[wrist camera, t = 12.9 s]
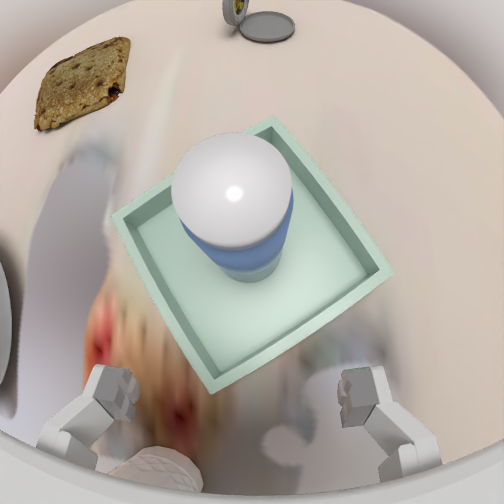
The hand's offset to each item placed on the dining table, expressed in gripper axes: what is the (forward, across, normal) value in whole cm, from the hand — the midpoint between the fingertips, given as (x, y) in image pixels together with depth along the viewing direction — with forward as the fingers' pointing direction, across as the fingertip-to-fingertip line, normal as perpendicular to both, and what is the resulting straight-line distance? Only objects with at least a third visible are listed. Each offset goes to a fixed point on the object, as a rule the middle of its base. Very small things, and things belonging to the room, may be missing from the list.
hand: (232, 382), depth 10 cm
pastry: (+30, -21, +13) cm, 39 cm away
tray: (+14, 0, -3) cm, 14 cm away
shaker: (+13, 0, -3) cm, 13 cm away
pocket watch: (+34, +2, +16) cm, 37 cm away
